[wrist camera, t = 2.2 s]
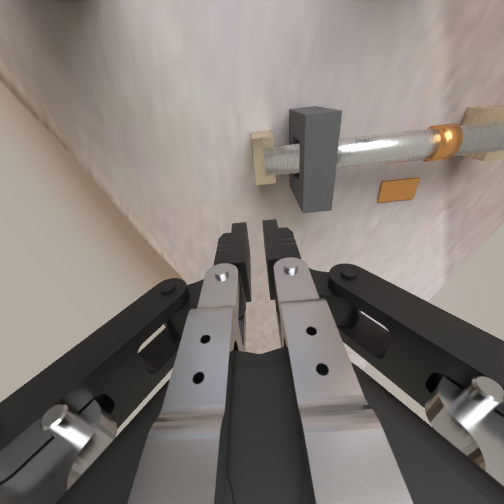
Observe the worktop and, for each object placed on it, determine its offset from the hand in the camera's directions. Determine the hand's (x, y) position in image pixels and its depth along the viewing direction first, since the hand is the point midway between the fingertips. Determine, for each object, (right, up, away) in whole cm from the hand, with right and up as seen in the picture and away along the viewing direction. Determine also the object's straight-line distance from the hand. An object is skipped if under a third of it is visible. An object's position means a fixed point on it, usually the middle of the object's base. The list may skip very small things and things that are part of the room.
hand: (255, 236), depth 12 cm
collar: (+6, +13, +17) cm, 22 cm away
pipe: (+14, +11, +18) cm, 26 cm away
